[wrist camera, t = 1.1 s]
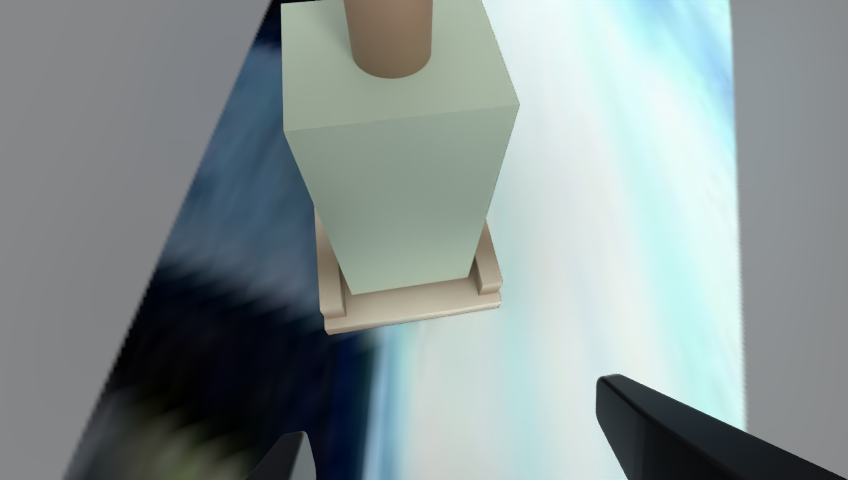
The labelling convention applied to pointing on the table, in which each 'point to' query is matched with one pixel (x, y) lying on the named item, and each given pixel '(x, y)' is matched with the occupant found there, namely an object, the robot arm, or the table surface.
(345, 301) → the birch rail
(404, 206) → the sliding block
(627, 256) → the table surface
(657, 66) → the table surface
